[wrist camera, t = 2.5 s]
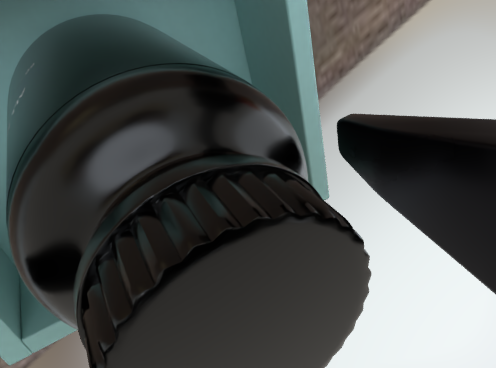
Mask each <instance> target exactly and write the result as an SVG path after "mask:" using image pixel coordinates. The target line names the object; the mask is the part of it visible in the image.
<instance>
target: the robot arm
mask: <svg viewBox="0 0 496 368" xmlns="http://www.w3.org/2000/svg"><path fill="white" fill-rule="evenodd" d="M337 134H338V146H339V151H340V153H341V155H342V156H343V158H344V159H345V160H346V161H347V162H348V163H349V164H350V165H351V166H352V167H353V168H354V170H355V171H357V173H359V175H360V176H361V177H362V178H363V179H364V180H365V181H366V182H367V183H368V184H369V185H370V186H371V187H372V188H373V190H374V191H375V192H377V194H379V195H380V196H381V197H382V198H383V199H384V200H385V201H386V202H388V203H389V204H390V205H391V206H392V207H393V208H395V209H396V210H397V211H398V212H399V213H400V214H402V215H403V216H404V217H405V218H406V219H408V220H409V221H410V222H411V223H412V224H413V225H415V226H416V227H417V228H418V229H419V230H421V231H422V232H423V233H424V234H425V235H426V236H428V237H429V238H430V239H431V240H432V241H434V242H435V243H436V244H437V245H438V246H439V247H441V248H442V249H443V250H444V251H445V252H447V253H448V254H449V255H450V256H451V257H452V258H454V259H455V260H456V261H457V262H458V263H459V264H461V265H462V266H463V267H464V268H465V269H467V270H468V271H469V272H470V273H471V274H472V275H474V276H475V277H476V278H477V279H478V280H479V281H481V282H482V283H483V284H484V285H485V286H487V287H488V288H489V289H490V290H491V291H492V292H494V293H495V294H496V120H492V119H469V118H443V117H417V116H395V115H370V114H350V115H348V116H346V117H344V118H342V119H340V120H339V121H338V122H337Z"/></svg>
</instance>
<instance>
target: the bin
mask: <svg viewBox="0 0 496 368" xmlns="http://www.w3.org/2000/svg"><path fill="white" fill-rule="evenodd" d="M93 14H111V15H119V16H124V17H129V18H132V19H135V20H139V21H141V22H143V23H146V24H148V25H150V26H152V27H154V28H156V29H158V30H160V31H161V32H163V33H165V34H167V35H168V36H170V37H172V38H174V39H175V40H177V41H179V42H180V43H182V44H184V45H186V46H187V47H189V48H191V49H193V50H194V51H196V52H198V53H199V54H201V55H203V56H205V57H206V58H208V59H210V60H211V61H213V62H215V63H217V64H218V65H220V66H222V67H223V68H225V69H227V70H229V71H230V72H232V73H234V74H235V75H237V76H239V77H240V78H242V79H244V80H245V81H247V82H249V83H250V84H251V85H253V86H254V87H256V88H257V89H259V90H260V91H261V92H263V93H264V94H265V95H266V96H268V97H269V98H270V99H271V100H272V101H273V102H274V103H275V104H276V105H277V106H278V107H279V108H280V109H281V111H282V112H283V113H284V114H285V116H286V117H287V118H288V120H289V121H290V123H291V124H292V126H293V128H294V130H295V132H296V134H297V136H298V138H299V141H300V143H301V146H302V149H303V152H304V156H305V160H306V166H307V173H308V182H309V183H310V184H311V185H312V186H313V187H314V188H315V189H316V190H317V192H318V193H319V194H320V196H321V197H322V199H323V200H326V199H328V198H329V191H328V182H327V174H326V164H325V156H324V148H323V138H322V130H321V121H320V113H319V103H318V94H317V86H316V77H315V68H314V59H313V51H312V42H311V33H310V24H309V16H308V7H307V0H0V357H1V358H2V359H3V360H4V361H5V362H6V363H7V364H8V365H12V364H14V363H16V362H18V361H20V360H22V359H24V358H25V357H27V356H29V355H31V354H32V352H33V353H34V352H36V351H38V350H40V349H42V348H44V347H46V346H48V345H50V344H52V343H54V342H55V341H57V340H59V339H61V338H63V337H65V336H67V335H69V334H71V333H73V332H75V331H76V330H77V329H75V328H73V327H71V326H69V325H67V324H66V323H64V322H62V321H61V320H59V319H58V318H57V317H55V316H54V315H53V314H51V313H50V312H49V311H47V310H46V309H45V308H44V307H43V306H42V305H41V304H40V303H39V302H38V301H37V300H36V299H35V298H34V296H33V295H32V294H31V293H30V291H29V290H28V289H27V287H26V286H25V284H24V282H23V281H22V279H21V277H20V275H19V273H18V271H17V269H16V266H15V264H14V262H13V258H12V254H11V251H10V246H9V239H8V231H7V223H6V174H7V103H8V93H9V87H10V82H11V78H12V76H13V73H14V71H15V68H16V66H17V64H18V62H19V60H20V58H21V57H22V55H23V54H24V53H25V51H26V50H27V49H28V47H29V46H30V45H31V44H32V43H33V42H34V41H35V40H36V39H37V38H38V37H39V36H40V35H42V34H43V33H45V32H46V31H47V30H49V29H50V28H52V27H54V26H56V25H58V24H60V23H62V22H64V21H67V20H70V19H73V18H76V17H80V16H85V15H93Z"/></svg>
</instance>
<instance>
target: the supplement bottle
mask: <svg viewBox="0 0 496 368" xmlns="http://www.w3.org/2000/svg"><path fill="white" fill-rule="evenodd" d="M6 223H7V231H8V239H9V246H10V251H11V254H12V258H13V262H14V264H15V266H16V269H17V271H18V273H19V275H20V277H21V279H22V281H23V282H24V284H25V286H26V287H27V289H28V290H29V291H30V293H31V294H32V295H33V296H34V298H35V299H36V300H37V301H38V302H39V303H40V304H41V305H42V306H43V307H44V308H45V309H46V310H47V311H49V312H50V313H51V314H53V315H54V316H55V317H57V318H58V319H59V320H61V321H62V322H64V323H66V324H67V325H69V326H71V327H73V328H75V329H77V330H78V332H79V335H80V339H81V341H82V343H83V345H84V347H85V349H86V351H87V357H88V362H89V367H90V368H325V367H326V366H327V365H328V363H329V362H330V360H331V359H332V357H333V356H334V355H335V354H336V353H337V352H338V351H339V350H340V349H341V348H342V346H343V344H344V341H345V339H346V338H347V337H348V336H349V334H350V333H351V332H352V331H353V329H354V326H355V323H356V320H357V319H358V317H359V316H360V314H361V313H362V311H363V303H364V301H365V299H366V297H367V295H368V293H369V288H368V283H369V280H370V277H371V271H370V269H369V268H368V263H369V257H370V256H369V255H368V253H367V252H366V250H365V249H364V242H363V239H362V238H361V236H360V235H359V234H358V233H357V232H356V231H355V230H354V229H353V228H352V226H351V225H350V223H349V222H348V221H347V220H346V219H345V218H344V217H343V216H342V215H341V214H339V213H338V212H337V211H336V210H335V209H333V208H332V207H331V206H330V205H328V204H327V203H326V202H325V201H324V200H323V199H322V197H321V196H320V194H319V193H318V192H317V190H316V189H315V188H314V187H313V186H312V185H311V184H310V183H309V182H308V173H307V166H306V160H305V156H304V152H303V149H302V146H301V143H300V141H299V138H298V136H297V134H296V132H295V130H294V128H293V126H292V124H291V123H290V121H289V120H288V118H287V117H286V116H285V114H284V113H283V112H282V111H281V109H280V108H279V107H278V106H277V105H276V104H275V103H274V102H273V101H272V100H271V99H270V98H269V97H268V96H266V95H265V94H264V93H263V92H261V91H260V90H259V89H257V88H256V87H254V86H253V85H251V84H250V83H249V82H247V81H245V80H244V79H242V78H240V77H239V76H237V75H235V74H234V73H232V72H230V71H229V70H227V69H225V68H223V67H222V66H220V65H218V64H217V63H215V62H213V61H211V60H210V59H208V58H206V57H205V56H203V55H201V54H199V53H198V52H196V51H194V50H193V49H191V48H189V47H187V46H186V45H184V44H182V43H180V42H179V41H177V40H175V39H174V38H172V37H170V36H168V35H167V34H165V33H163V32H161V31H160V30H158V29H156V28H154V27H152V26H150V25H148V24H146V23H143V22H141V21H139V20H135V19H132V18H129V17H124V16H119V15H111V14H93V15H85V16H80V17H76V18H73V19H70V20H67V21H64V22H62V23H60V24H58V25H56V26H54V27H52V28H50V29H49V30H47V31H46V32H45V33H43V34H42V35H40V36H39V37H38V38H37V39H36V40H35V41H34V42H33V43H32V44H31V45H30V46H29V47H28V49H27V50H26V51H25V53H24V54H23V55H22V57H21V58H20V60H19V62H18V64H17V66H16V68H15V71H14V73H13V76H12V78H11V82H10V87H9V93H8V103H7V174H6Z"/></svg>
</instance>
